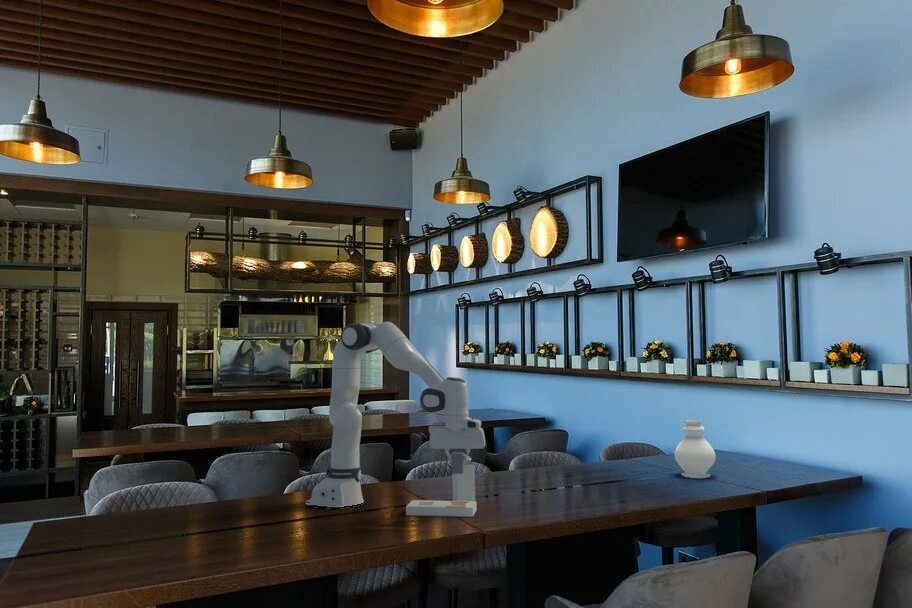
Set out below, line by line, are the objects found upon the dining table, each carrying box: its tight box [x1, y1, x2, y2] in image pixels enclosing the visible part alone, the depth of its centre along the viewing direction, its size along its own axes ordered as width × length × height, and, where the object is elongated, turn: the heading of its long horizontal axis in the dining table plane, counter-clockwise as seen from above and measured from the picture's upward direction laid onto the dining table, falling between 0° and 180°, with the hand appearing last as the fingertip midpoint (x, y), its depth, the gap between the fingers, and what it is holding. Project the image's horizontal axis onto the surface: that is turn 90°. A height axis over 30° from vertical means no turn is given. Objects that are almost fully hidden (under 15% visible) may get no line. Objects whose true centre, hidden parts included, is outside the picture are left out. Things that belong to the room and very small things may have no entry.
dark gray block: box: [450, 451, 465, 475], centre depth 238 cm, size 4×4×7 cm
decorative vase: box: [673, 419, 717, 479], centre depth 304 cm, size 18×18×25 cm
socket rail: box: [405, 499, 478, 518], centre depth 238 cm, size 24×10×4 cm, turn 81°
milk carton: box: [452, 453, 476, 501], centre depth 258 cm, size 7×7×19 cm
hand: (457, 461), depth 238 cm, fingers closed on dark gray block, 4 cm apart
